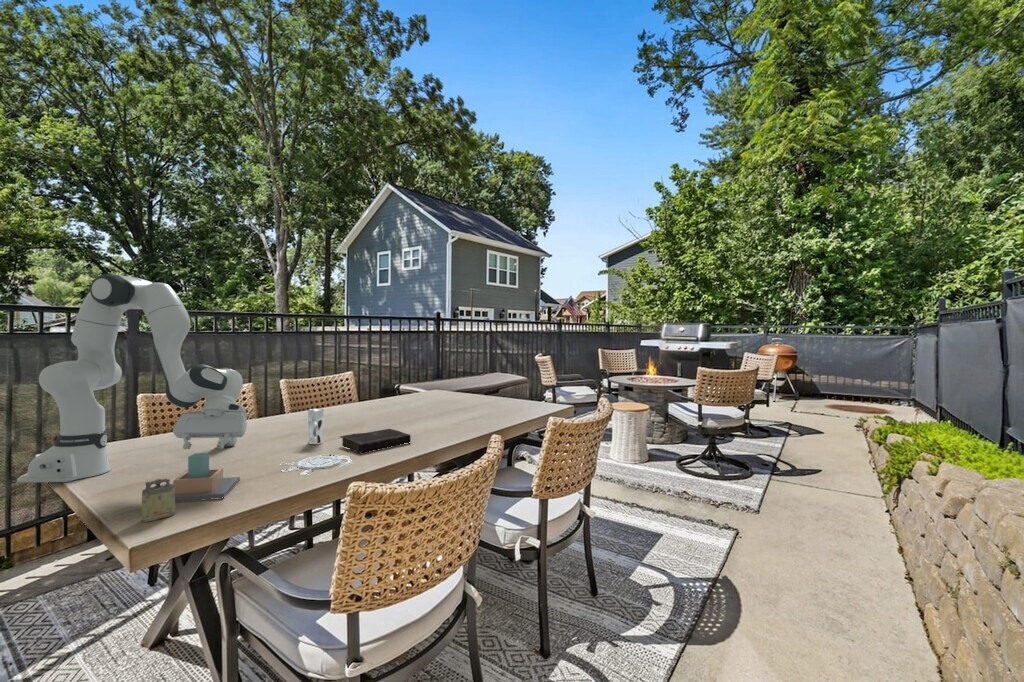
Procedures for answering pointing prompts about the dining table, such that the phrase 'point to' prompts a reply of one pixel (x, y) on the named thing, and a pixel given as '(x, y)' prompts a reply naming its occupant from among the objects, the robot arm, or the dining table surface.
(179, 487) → the holder
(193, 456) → the peg
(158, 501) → the green boxy piece
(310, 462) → the pendant
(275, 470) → the dining table surface
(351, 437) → the diary
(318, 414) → the beer glass
